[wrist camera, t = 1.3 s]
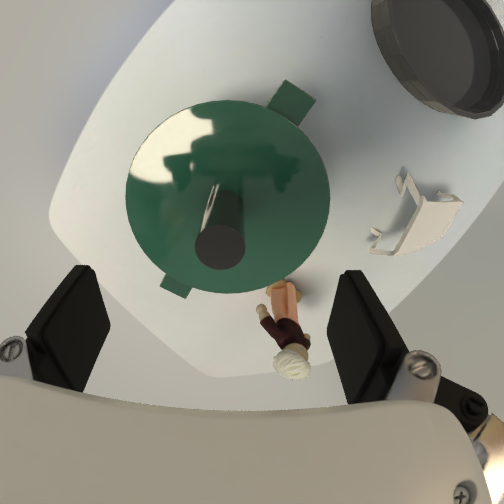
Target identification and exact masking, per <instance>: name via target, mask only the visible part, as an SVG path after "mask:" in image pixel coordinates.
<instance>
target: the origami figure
mask: <svg viewBox="0 0 504 504" xmlns="http://www.w3.org/2000/svg"><path fill="white" fill-rule="evenodd" d="M396 183H397V186H398V189H399V192H400V195H401V196H402V197H403V194H404V192H405V190H406V187H408V189H409V191H410V193H411V195H412V197H413V199H414V200H415V202H416V204H417V208H416V210H415V212H414V214H413V216H412V218H411V220H410V222H409V224H408V226H407V228H406V230H405V231H404V233H403V235H402V237H401V239H400V241H399V242H398V244H397V246H396V248H395V250H394V251H386V250H380V249H375V247H376V245H377V244H378V242H379V240H380V238H381V237H382V234H381V233H380V232H378V231H377V230H375V229H374V228H371V230H370V231H371V232H372V233H373V234H375V235H376V236H377V237H378V238H377V240H376V241H375V242H374V243H373V245H372V246H371V247H370V249H369V250H368V252H369V253H371V254H378V255H387V256H399V255H402V254H406V253H410V252H414V251H417V250H420V249H422V248H424V247H425V246H427V245H429V244H431V243H432V242H434V241H436V240H437V239H439V238H443V236H444V233H445V232H446V230H447V229H448V227H449V225H450V224H451V222H452V220H453V219H454V217H455V215H456V214H457V212H458V210H459V208H460V207H461V205H462V204H463V203H464V202H463V201H461V200H460V199H459V198H458V197H457V196H455V195H452V194H445V193H441V192H440V190H439V192H438V194H437V195H438V196H441V197H445V198H449V199H452V201H444V202H428V201H426V199H425V196H420V194H419V192H418V190H417V187H416V185H415V183H414V181H413V179H412V177H411V175H410V174H409V173H408V174H407V176H406V179H405V181H404V185H403V183H402V179H401V177H400V176H399V175H398V177H397V180H396Z"/></svg>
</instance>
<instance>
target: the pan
mask: <svg viewBox="0 0 504 504" xmlns="http://www.w3.org/2000/svg"><path fill="white" fill-rule="evenodd" d="M371 19H372V26H373V31H374V35H375V38H376V41H377V44H378V46H379V48H380V51H381V53H382V55H383V57H384V59H385V61H386V63H387V64H388V66H389V67H390V69H391V71H392V72H393V74H394V75H395V76H396V77H397V79H398V80H399V81H400V83H401V84H402V85H403V86H404V87H405V88H406V89H407V90H408V91H409V92H410V93H411V94H412V95H413V96H414V97H415V98H417V99H418V100H419V101H421V102H422V103H423V104H425V105H427V106H429V107H430V108H432V109H435V110H437V111H439V112H443V113H448V114H452V115H457V116H462V117H467V118H471V119H479V118H484V117H488V116H491V115H492V114H493V113H495V112H496V111H497V110H498V109H499V108H500V107H501V106H502V105H503V103H504V31H503V29H502V26H501V24H500V22H499V21H498V19H497V17H496V15H495V13H494V12H493V10H492V8H491V7H490V5H489V4H488V3H487V2H486V0H372V4H371Z"/></svg>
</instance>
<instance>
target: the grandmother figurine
mask: <svg viewBox="0 0 504 504" xmlns="http://www.w3.org/2000/svg"><path fill="white" fill-rule="evenodd" d="M266 293H267V295H268V296H269V297H271V306H272V311H273V314H274V318H275V319H273V318H272V317H271V316H270V314H269V313H268V312H267V308H266V306H265V305H264V304H260V305H258V306H257V308H256V311H257V313H258V314H259V318H260V321H261V322H260V324H261V325H262V326H263V327H264V329H265V330H266V331H267V332H268V333H269V334H270V336H271V337H272V338H274V339H275V340H276V342H277V344H278V346H279V347H280V348H281V349H282V351H281V352H279V353H278V354H277V356H275V357H274V362H273V365H274V368H275V369H276V370H277V372H278V373H280V374H281V375H282V376H283V377H285V378H288V379H292V380H300V379H304V378H306V377H307V376H308V375H309V374H310V373H311V365H310V363H309V362H308V352H307V350H308V349H309V347H310V345H311V343H310V335H309V334H303V332H302V329H301V327H300V325H299V323H298V316H297V303H298V302H299V301H300V300H301V298H302V294H301V292H300V291H299V290H296V289H295V286H294V285H293V284H292V283H290V282H286V281H284V280H283V279H281V280H280V281H278V282H276V283H274V284H272V285H269V287H268V288H267V290H266Z"/></svg>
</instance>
